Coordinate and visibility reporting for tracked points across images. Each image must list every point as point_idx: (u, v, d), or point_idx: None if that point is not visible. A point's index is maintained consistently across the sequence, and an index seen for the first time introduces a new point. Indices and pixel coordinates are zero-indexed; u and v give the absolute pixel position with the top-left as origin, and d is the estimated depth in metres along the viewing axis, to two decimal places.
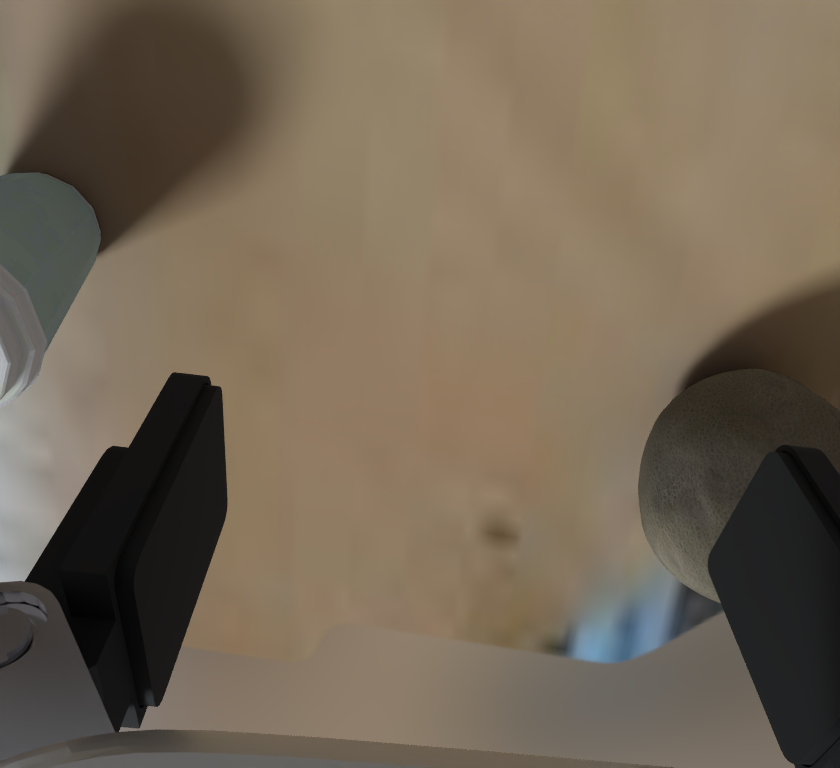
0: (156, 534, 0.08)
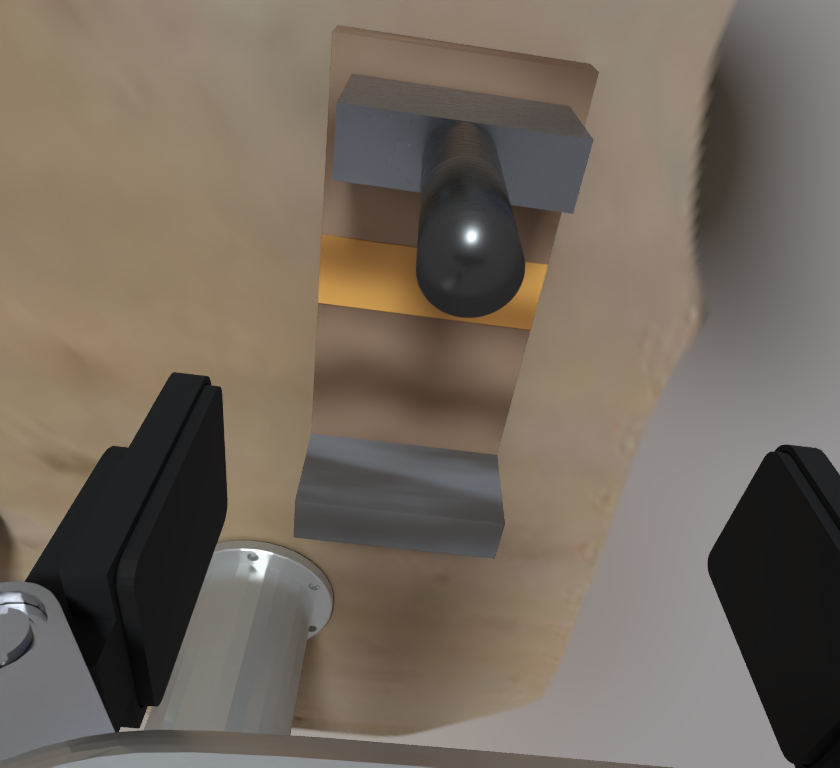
0: (156, 535, 0.08)
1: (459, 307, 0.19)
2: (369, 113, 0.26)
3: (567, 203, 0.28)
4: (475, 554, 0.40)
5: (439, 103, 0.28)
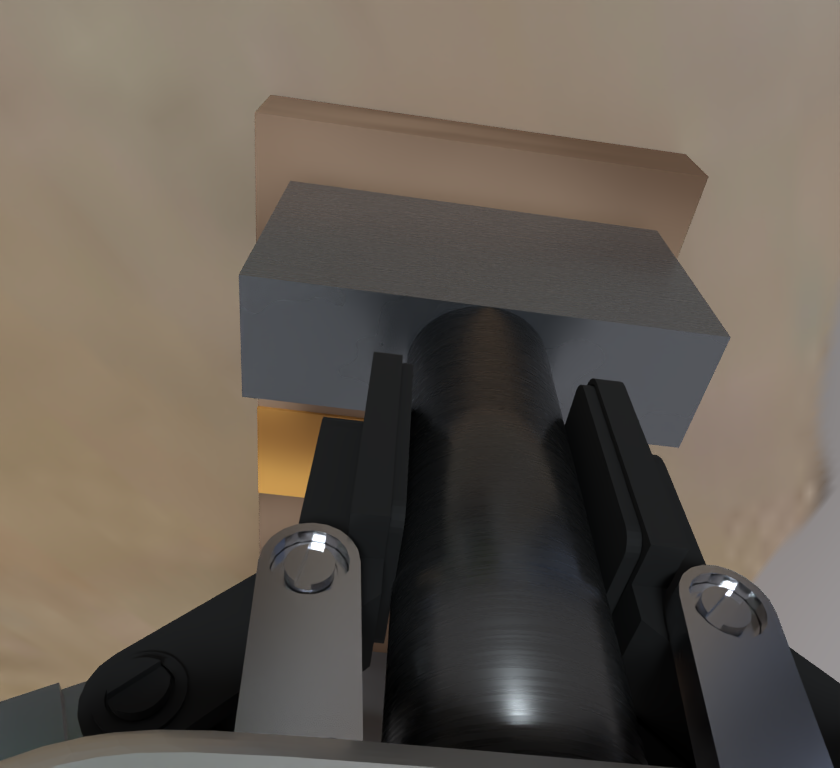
0: (406, 487, 0.09)
1: None
2: (303, 292, 0.13)
3: (670, 432, 0.15)
4: None
5: (438, 252, 0.15)
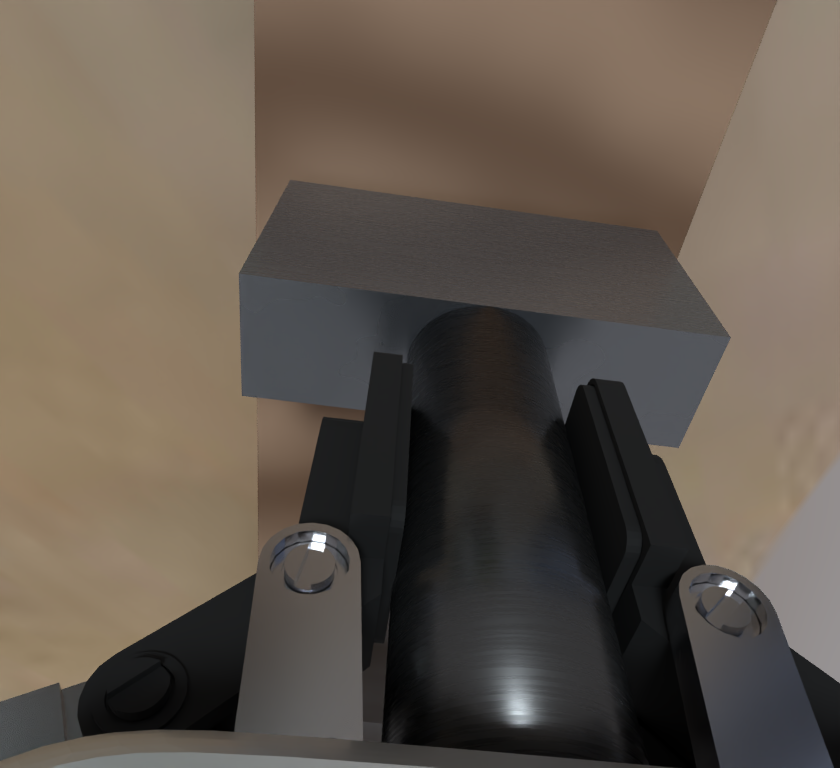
0: (405, 487, 0.09)
1: None
2: (304, 291, 0.13)
3: (670, 433, 0.15)
4: None
5: (439, 251, 0.15)
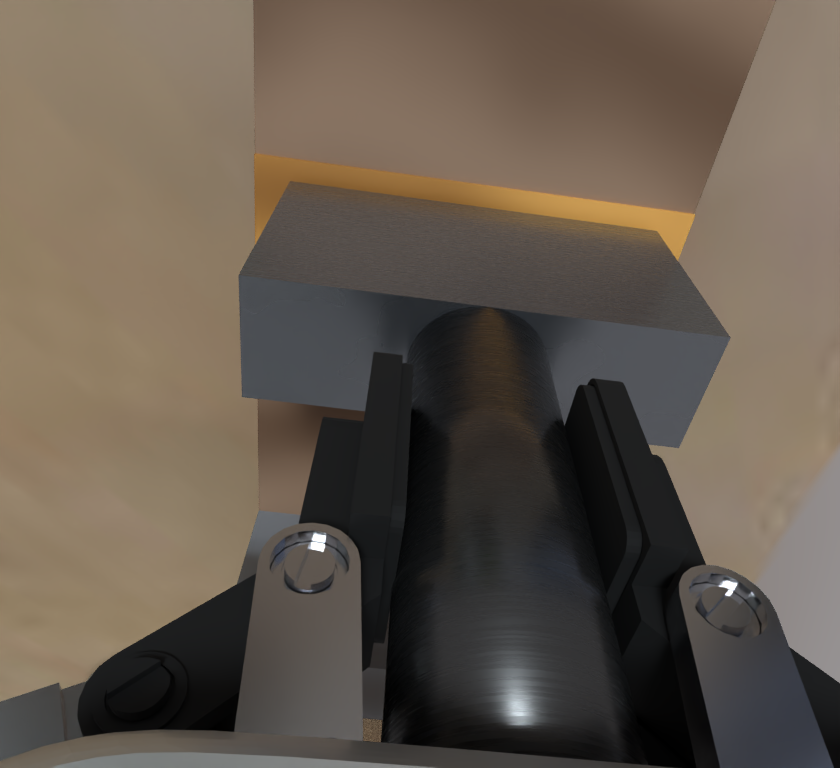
0: (406, 487, 0.09)
1: None
2: (303, 292, 0.13)
3: (670, 433, 0.15)
4: None
5: (438, 252, 0.15)
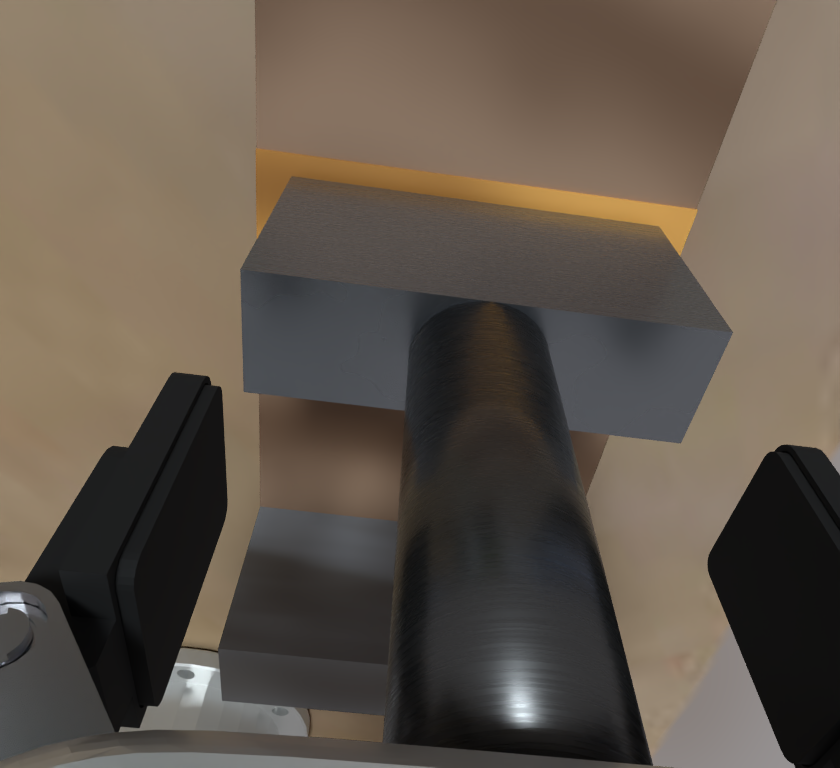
0: (157, 534, 0.08)
1: None
2: (305, 287, 0.13)
3: (672, 428, 0.15)
4: None
5: (440, 247, 0.15)
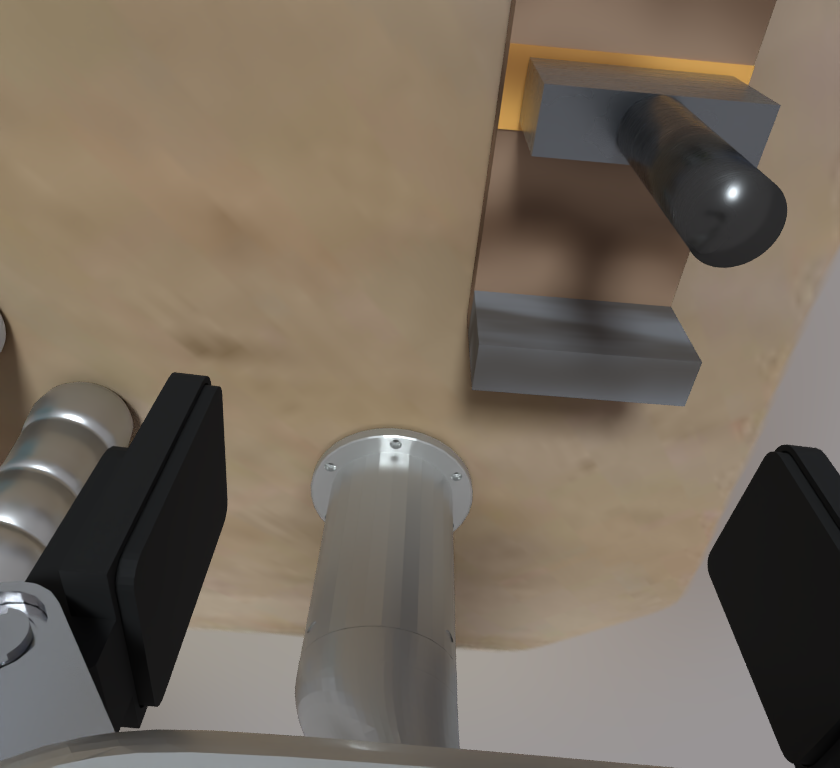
0: (157, 535, 0.08)
1: (719, 258, 0.21)
2: (573, 91, 0.28)
3: None
4: (664, 402, 0.37)
5: (626, 79, 0.30)
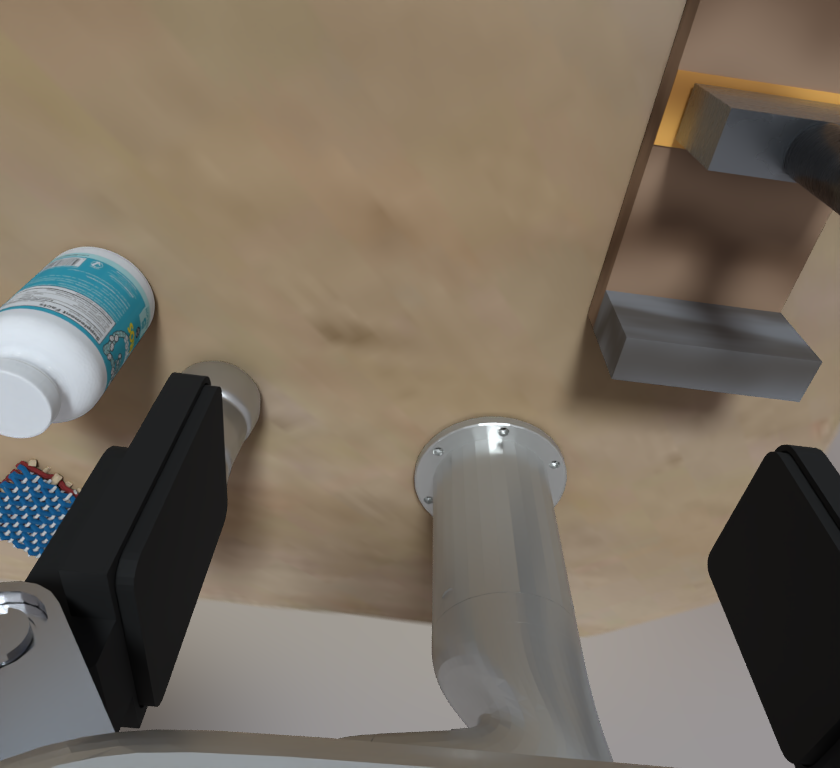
0: (157, 535, 0.08)
1: None
2: (755, 116, 0.32)
3: None
4: (782, 397, 0.42)
5: (791, 108, 0.34)
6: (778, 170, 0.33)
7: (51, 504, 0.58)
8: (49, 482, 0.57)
